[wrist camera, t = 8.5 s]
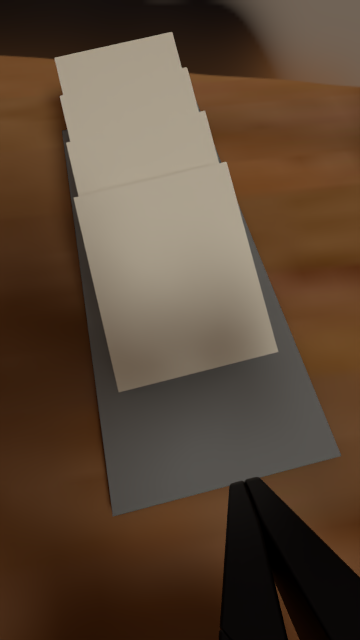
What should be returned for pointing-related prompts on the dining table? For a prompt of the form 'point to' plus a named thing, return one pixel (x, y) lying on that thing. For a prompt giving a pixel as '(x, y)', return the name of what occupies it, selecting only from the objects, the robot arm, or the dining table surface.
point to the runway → (203, 411)
